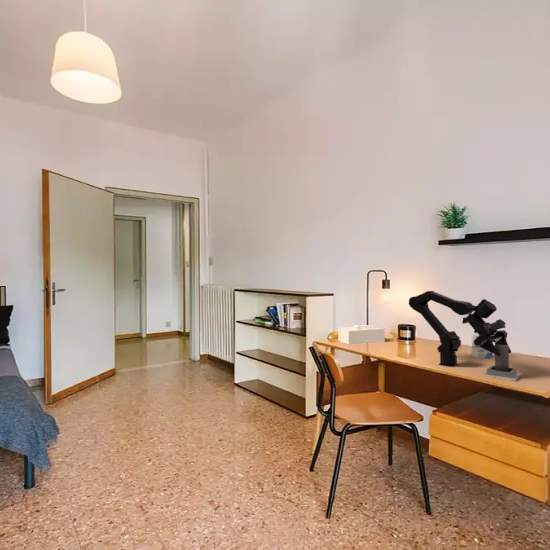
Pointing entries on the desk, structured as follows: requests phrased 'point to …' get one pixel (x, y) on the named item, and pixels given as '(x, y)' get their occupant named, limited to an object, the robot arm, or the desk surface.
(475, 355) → the ink box
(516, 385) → the desk surface
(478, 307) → the robot arm
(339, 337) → the tissue box
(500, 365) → the grey domed cylinder
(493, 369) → the square tray
